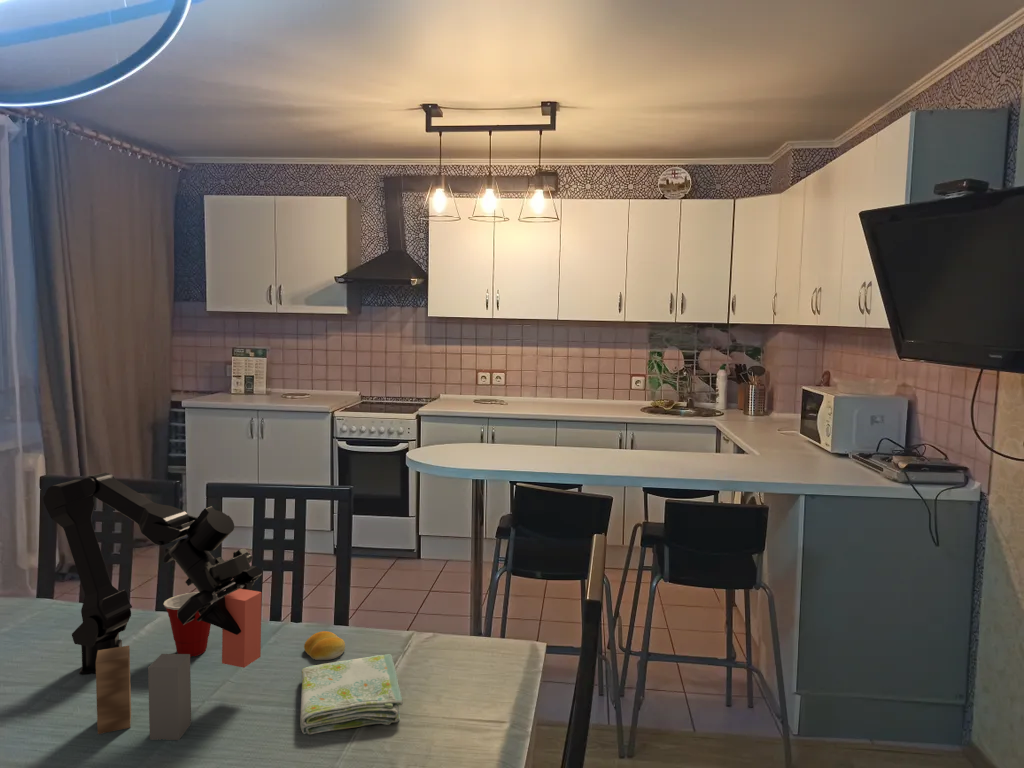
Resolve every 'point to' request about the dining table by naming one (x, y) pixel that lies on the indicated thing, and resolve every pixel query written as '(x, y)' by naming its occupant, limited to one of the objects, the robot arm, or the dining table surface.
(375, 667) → the towel
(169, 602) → the plastic cup
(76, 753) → the dining table surface
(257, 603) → the red block
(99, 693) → the walnut block
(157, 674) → the gray block
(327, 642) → the bread roll
